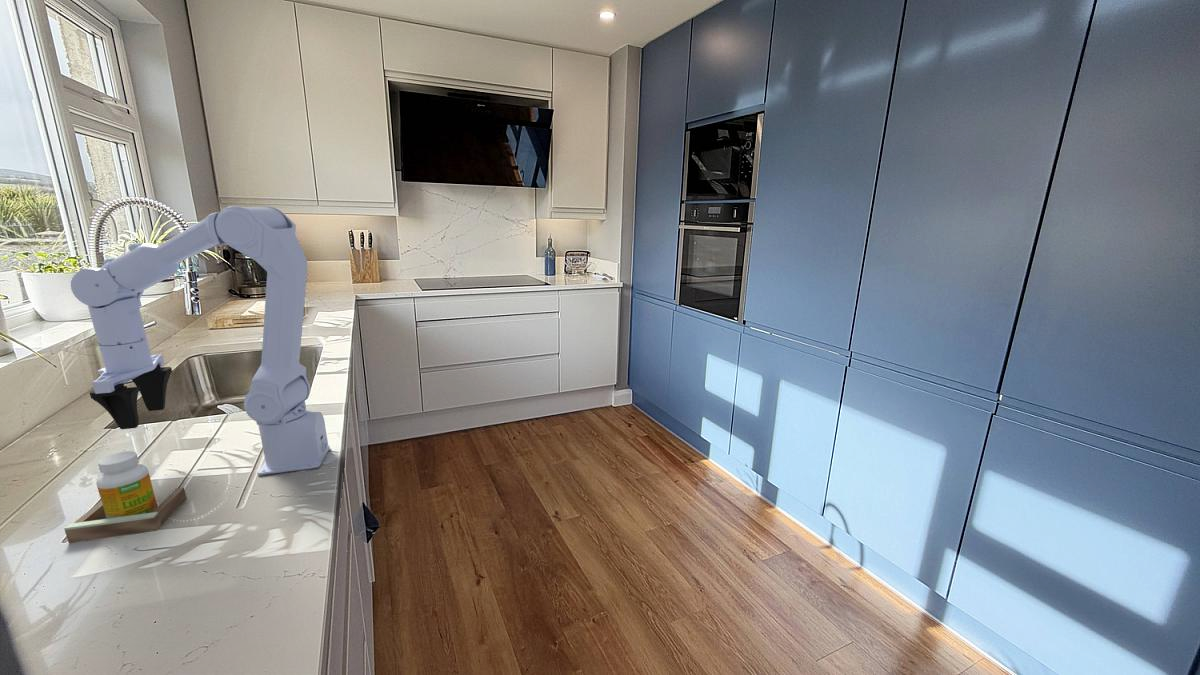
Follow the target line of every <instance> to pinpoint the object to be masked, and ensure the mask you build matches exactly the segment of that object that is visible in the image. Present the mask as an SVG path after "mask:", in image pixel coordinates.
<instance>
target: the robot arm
mask: <svg viewBox="0 0 1200 675" xmlns="http://www.w3.org/2000/svg"><path fill="white" fill-rule="evenodd" d="M296 230H297V226H296V224H295V223H294V221H293V220H291V219H290V218H289V217H288V216H287V215H286V214H285V213H284V212H283V211H282V210H280V209H278V208H276V207H274V206H267V205H266V206H259V207H258V206H257V207H255V206H254V207H253V206H250V207H249V206H245V207H244V206H239V205H232V206H227V207H224V208H223V209H222V210H220V211H217V212H213V213H210V214H208V215H207V216H206V217H205V218H203V219H202V220H200V221H198V222H196V223H194V224H193V225H192V226H190V227H188V228H186V229H185V230H183V231H182V232H179V233H178V234H176V235H175V236H173V237H171V238H170V239H168V240H167V241H165V242H163V243H161V244H156V243H152V242H145V243H143V242H138V243H136V242H135V243H133V244H130V245H129V246H128V247H127V248H128V250H129V251H127V252H125V253H123V254H121V255H120V256H118V257H116V258H114V257H110V258H107V259H105V260H103V261H102V262H103V264H102V265H101V267H98V268H97V267H96V268H91V267H88V268H86V267H85V268H81V269H79V271H78V272H77V273H74V275H73V276H72V278H71V280H70V289H71V291H72V292H71V293H72V294H73V295H74V297H75V298H76V299H77V300H78V301H79V302H80V303H82V304H84V305H86V306H87V307H88V308H87V309H88V312H89V314H90V318H91V323H92V325H93V329H94V333H95V336H96V340H97V344H98V348H99V351H100V354H101V357H102V361H103V364H104V367H102V368H100V369H98V370H97V374H98V375H100V376H98V378H97V379H96V380H93V381H92V382H91V383H92V387H93V390H91V391H90V392H89V397H90V398H91V399H92V400H93V401H95V402H96V403H98V404H99V405H100V406H101V407H102V408H104V409H105V410H106V411H107V413H108V415H110V416H111V418H112V420H113V421H114V422H115V423H116V425H117V427H118V428H120V429H119V430H128V429H129V430H132V429H136V428H138V427H139V423H140V422H139V414H138V397H139V393H140V395H141V397H142V401H143V403H144V405H145V408H146V409H147V411H148V412H154V411H156V412H157V411H163V410H165V407H166V394H167V386H168V383H169V379H170V377H171V375H172V373H173V369H172V367H171V366H164V365H165V361H164V357H163V354H151V349H150V345H149V341H148V338H147V334H146V330H145V326H144V322H143V318H142V313H141V310H140V309H141V307H142V304H141V297H142V295H143V294H144V292H145V290H148V289H149V288H151V287H153V286H155V285H156V284H157V285H158V284H159V283H161V282H162V281H164V280H166V279H169V278H170V277H173V276H175V275H176V274H177V272H178V268H179V263H181V262H183V261H185V260H187V259H190V258H192V257H194V256H196V255H198V254H200V253H202V252H205V251H206V250H210V249H211V248H214V247H216V246H217V245H218V246H219V245H227V246H229V247H231V249H234V250H236V251H238V252H239V253H241V254H243V255H245V256H246V257H248V258H250V259H252V260H253V261H255V262H256V263H257V264H258V265H259V266H261V268H262V269H264V270H265V271H266V273H267V274H266V286H265V287H266V288H265V304H264V317H263V331H262V332H263V333H262V344H261V345H262V347H261V362H260V366H259V367H258V369H257V371H256V373H255V374H254V376H253V378H252V379H251V387H250V390H249V392H248V393H247V394H246V395H245V397H244V400H243V408H244V411H245V414H247V416H249V418H250V419H252V420H253V421H254V422H256V425H257V426H258V430H259V435H260V439H261V445H262V449H263V455H264V460H265V462H264V463H263V464H262V466H261V467H260V468H259V470H257V472H256V474H257V476H263V475H264V476H265V475H272V474H277V473H278V474H279V473H287V472H294V471H301V470H302V471H304V470H310V469H316V468H317V469H318V468H319V467H320V466H321V465H322V462H323V461H324V459H325V458H326V455H327V454H328V452H329V450H330V447H331V446H330V445H329V442H328V435H327V430H326V423H325V418H324V415H323V413H322V412H320V411H310V410H307V406H306V400H308V397H309V396H310V394H311V385H310V382H309V381H308V378H307V377H308V376H307V368H306V366H304V365H302V363H300V360H301V359H300V358H301V346H302V345H301V344H302V336H303V334H302V332H303V323H304V310H305V301H306V300H305V299H306V289H307V288H306V286H307V276H308V275H307V274H308V260H307V257H306V255H305V252H304V250H303V247H302V246H301V244H300V241H299V238H298V236H297V234H296V233H297V232H296ZM163 366H164V367H163ZM129 381H132V383H133V384H135V386H132V387H128V386H127V385H125V384H126V383H128V382H129Z"/></svg>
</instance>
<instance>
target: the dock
mask: <svg viewBox="0 0 1200 675" xmlns="http://www.w3.org/2000/svg"><path fill="white" fill-rule="evenodd" d="M187 500H188V497H187V494H186V489H185V487H178V488H175V489H174V490H173V491H172V492H171V493H170V494H169V495H168V496H167V497H166V498H165V499H164V500H163V501H162V502H161V503H160V504H159V505H157V506H158V507H157V508H156V509H155V510H154V511H153V512H152V513H145V514H138V515H130V516H123V517H116V518H108V519H107V518H106V514H105V511H104V508H103V504H102V501H101V500H100V501H99V502H98V503H96V504H95V505H94V506H92V507H91V508H90V509H89V510H87V512H86V513H84V514H83V515H81V517H79V518H78V519H77V520H75V521H74V522H73V523H69V524H67V525H66V526H65V527H64V532H65V535H66V539H67V542H68V543H69V544H72V543H77V542H78V543H79V542H86V541H91V540H98V539H107V538H111V537H112V538H114V537H119V536H126V535H134V534H140V533H147V532H154V531H158V530H159V529H160V528H161V527H162V526H163V525H164V524H165V523H166V522H167V520H169V518H170V517H171V516H172V515H173V514H174V513H175V512H176V511H177V510H178V509H179V507H181V505H183V504H184V502H185V501H187Z"/></svg>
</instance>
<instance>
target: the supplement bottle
mask: <svg viewBox="0 0 1200 675" xmlns="http://www.w3.org/2000/svg"><path fill="white" fill-rule="evenodd" d="M138 456H139V455H138V453H137V451H133V450H132V451H131V450H129V451H121V452H116V453H113V454H110V455H107V456H104V457H102V458H101V459H99V460H98V462H97V464H98V471H99V472H100V473H101V474H100V475H98V477H97V479H96V482H95V483H96V488H97V491H98V494H99V497H100V498H99V499H100V501H102V504H103V508H104V511H105V514H106V518H105V519H108V518H116V517H123V516H130V515H138V514H145V513H152V512H153V511H154V510H155V509H156V508H157V507H158V506H159V505H158V503H157V498H156V495H155V491H154V486H153V484H152V479H151V475H150V471H149V469H148V467H147V466H146V465H145V464H141V463H139V457H138Z"/></svg>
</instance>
